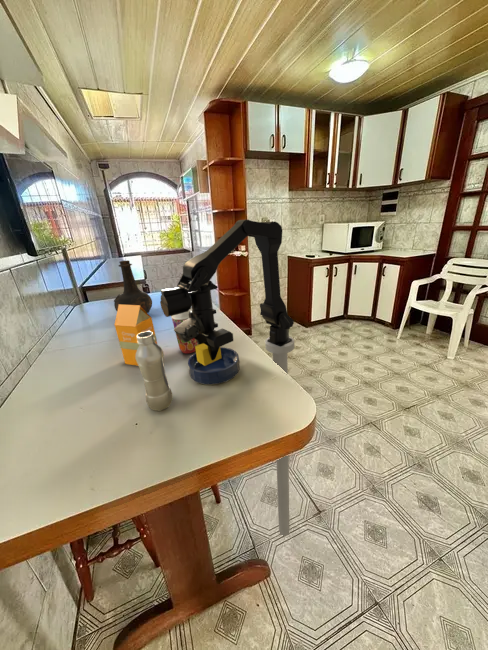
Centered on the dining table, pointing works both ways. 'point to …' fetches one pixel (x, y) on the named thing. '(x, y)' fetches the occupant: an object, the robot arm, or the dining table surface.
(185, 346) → the smoothie
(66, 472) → the dining table surface
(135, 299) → the glass bottle
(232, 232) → the robot arm
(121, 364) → the dining table surface
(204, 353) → the sponge
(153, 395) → the plastic bottle
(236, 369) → the bowl
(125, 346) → the orange juice
